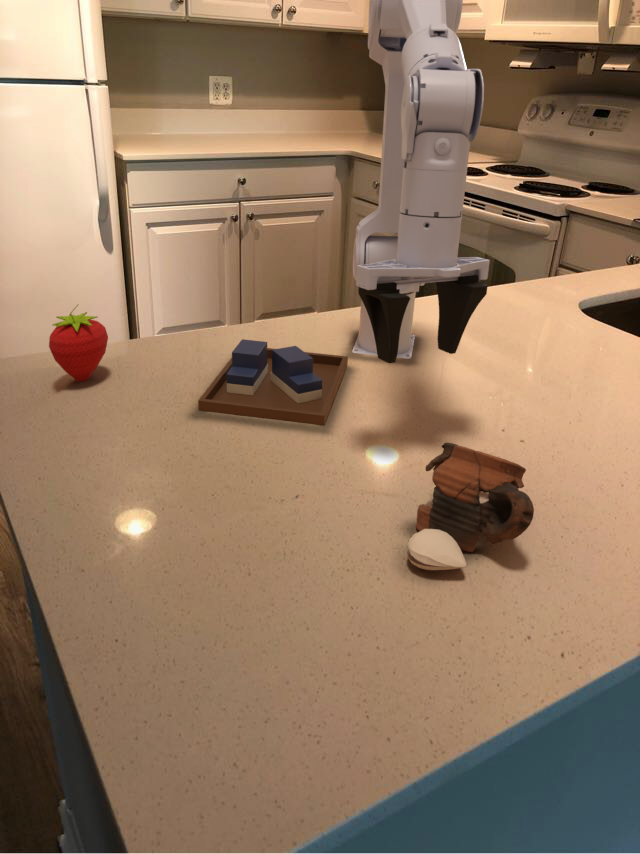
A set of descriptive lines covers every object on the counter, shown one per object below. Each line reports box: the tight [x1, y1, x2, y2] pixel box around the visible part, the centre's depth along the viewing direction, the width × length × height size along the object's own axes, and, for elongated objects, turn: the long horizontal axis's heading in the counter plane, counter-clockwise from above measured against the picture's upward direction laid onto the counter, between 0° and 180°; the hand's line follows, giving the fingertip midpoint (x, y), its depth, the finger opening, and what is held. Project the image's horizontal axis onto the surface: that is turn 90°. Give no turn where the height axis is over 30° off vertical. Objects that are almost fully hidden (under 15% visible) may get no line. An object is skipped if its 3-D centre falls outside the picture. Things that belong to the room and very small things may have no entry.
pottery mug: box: [415, 442, 535, 553], centre depth 61 cm, size 12×10×8 cm
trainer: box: [271, 345, 322, 403], centre depth 83 cm, size 7×3×4 cm, turn 30°
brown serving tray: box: [197, 347, 349, 426], centre depth 85 cm, size 17×14×2 cm
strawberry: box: [48, 303, 109, 382], centre depth 83 cm, size 6×8×10 cm
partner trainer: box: [227, 338, 268, 396], centre depth 85 cm, size 7×3×4 cm, turn 170°
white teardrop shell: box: [406, 529, 467, 571], centre depth 57 cm, size 4×5×2 cm
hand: (417, 355), depth 71 cm, fingers open, 7 cm apart
